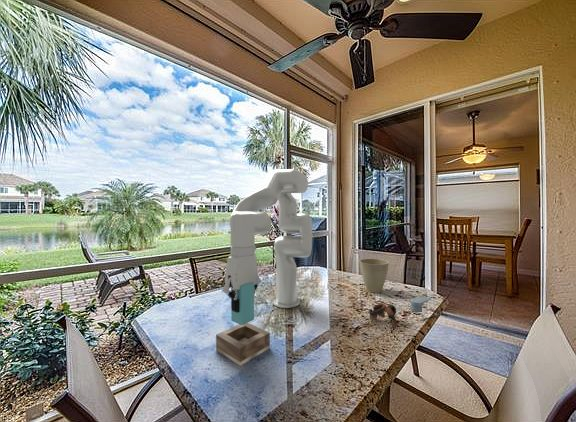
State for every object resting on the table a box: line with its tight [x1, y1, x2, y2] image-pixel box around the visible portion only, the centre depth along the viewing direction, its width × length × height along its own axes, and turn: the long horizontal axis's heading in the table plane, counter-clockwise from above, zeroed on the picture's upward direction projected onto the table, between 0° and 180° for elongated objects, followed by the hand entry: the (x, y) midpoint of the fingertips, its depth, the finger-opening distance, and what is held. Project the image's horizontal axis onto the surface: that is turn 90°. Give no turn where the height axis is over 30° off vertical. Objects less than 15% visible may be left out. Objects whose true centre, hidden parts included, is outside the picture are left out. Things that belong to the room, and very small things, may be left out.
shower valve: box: [395, 296, 439, 317], centre depth 110 cm, size 12×6×15 cm
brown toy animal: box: [368, 303, 398, 329], centre depth 100 cm, size 12×9×8 cm
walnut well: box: [215, 322, 271, 366], centre depth 81 cm, size 12×12×5 cm
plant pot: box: [359, 258, 390, 294], centre depth 137 cm, size 15×15×16 cm
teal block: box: [230, 282, 255, 325], centre depth 81 cm, size 5×5×12 cm
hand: (242, 308), depth 81 cm, fingers closed on teal block, 5 cm apart
